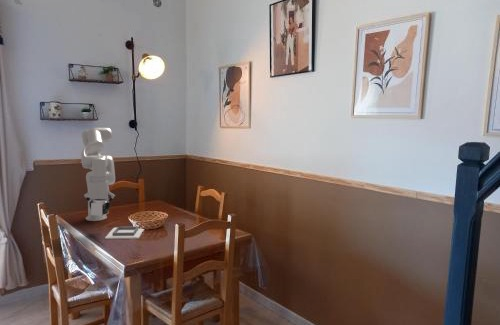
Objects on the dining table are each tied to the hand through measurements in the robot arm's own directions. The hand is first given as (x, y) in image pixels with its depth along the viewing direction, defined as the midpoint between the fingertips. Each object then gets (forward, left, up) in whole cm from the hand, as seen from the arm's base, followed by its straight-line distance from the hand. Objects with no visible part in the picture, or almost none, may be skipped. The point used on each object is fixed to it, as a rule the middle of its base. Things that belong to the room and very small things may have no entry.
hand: (99, 208), depth 198 cm
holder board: (+4, +15, -14) cm, 21 cm away
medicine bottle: (0, 0, -4) cm, 4 cm away
